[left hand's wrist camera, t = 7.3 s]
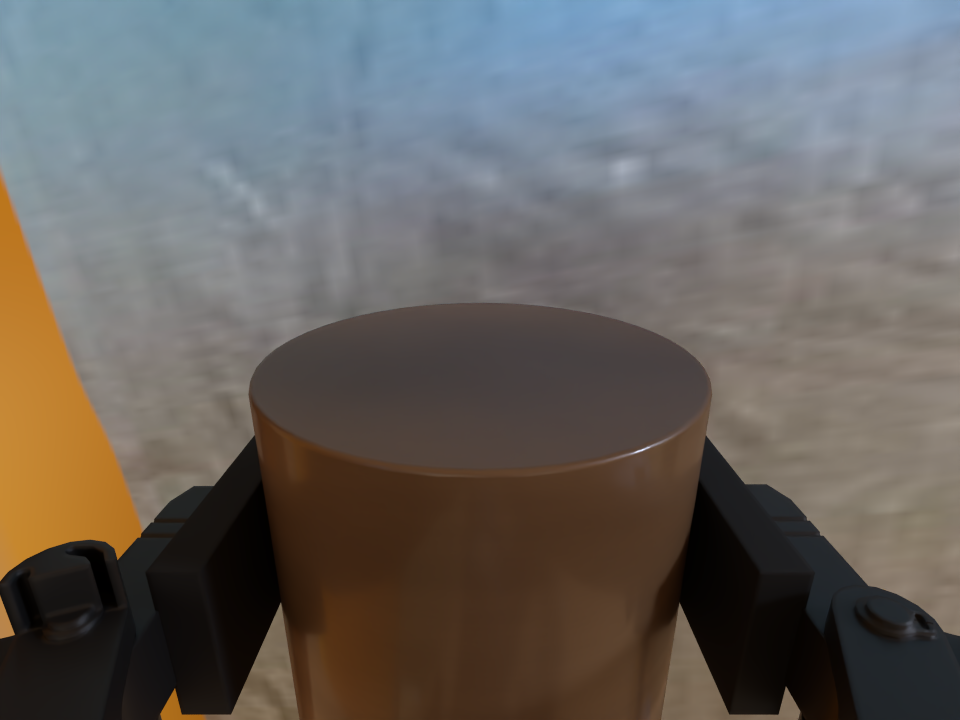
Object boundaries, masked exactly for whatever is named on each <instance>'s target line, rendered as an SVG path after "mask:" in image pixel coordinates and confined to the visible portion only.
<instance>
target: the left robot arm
mask: <svg viewBox="0 0 960 720" xmlns="http://www.w3.org/2000/svg"><path fill="white" fill-rule="evenodd" d="M0 596H1V599H2V601H3V604H4V607H5V609H6V612H7V615H8V617H9V620H10V623H11V625H12V628H13V630H14V633H15V635H14V636H10V637H6V638H2V639H0V720H162V719H161V715H160V713H161V711H162V710H163V708H164V706H165V704H166V703H167V701H168V699H169V697H170V696H171V694H172V692H173V690H174V689H176V693H177V697H178V701H179V705H180V709H181V713H182V714H231V713H232V711H233V709H234V706H235V704H236V702H237V700H238V697H239V695H240V693H241V691H242V688H243V686H244V684H245V682H246V679H247V677H248V675H249V673H250V670H251V668H252V666H253V664H254V661H255V659H256V657H257V655H258V652H259V650H260V648H261V646H262V643H263V641H264V639H265V637H266V634H267V632H268V630H269V628H270V625H271V623H272V621H273V619H274V616H275V614H276V612H277V610H278V607H279V605H280V603H281V598H280V592H279V585H278V579H277V572H276V566H275V560H274V553H273V547H272V541H271V534H270V528H269V521H268V515H267V509H266V502H265V496H264V490H263V483H262V477H261V470H260V464H259V458H258V451H257V445H256V439H255V436H254V437H253V438H252V439H251V441H250V442H249V443H248V444H247V446H246V447H245V448H244V449H243V451H242V452H241V453H240V454H239V456H238V457H237V458H236V459H235V461H234V462H233V463H232V464H231V466H230V467H229V468H228V469H227V471H226V472H225V473H224V474H223V476H222V477H221V478H220V479H219V481H218V482H217V483H216V484H215V486H194V487H192V488H190V489H189V490H187V491H186V492H184V493H183V494H181V495H179V496H178V497H176V498H175V499H173V500H171V501H170V502H169V503H168V504H167V505H166V507H165V508H164V509H163V510H162V511H161V512H160V513H159V514H158V516H157V517H156V518H155V519H154V523H150V525H149V526H148V527H147V528H146V529H145V530H144V531H143V532H142V534H141V538H137V539H136V540H135V541H134V543H133V544H132V545H131V546H130V547H129V548H128V549H127V550H126V551H125V553H124V554H123V555H122V556H121V557H120V558H119V559H118V560H117V557H116V553H115V549H114V548H113V547H111V546H110V545H109V544H107V543H106V542H102V541H95V540H83V541H75V542H69V543H66V544H62V545H59V546H55V547H52V548H49V549H46V550H44V551H42V552H40V553H38V554H36V555H34V556H32V557H30V558H27V559H26V560H24V561H23V562H21V563H20V564H19V565H17V566H16V567H14V568H13V569H12V570H10V571H9V572H8V573H7V574H6V575H5V576H4V577H3V579H2V580H1V581H0ZM679 602H680V604H681V606H682V609H683V611H684V613H685V615H686V618H687V620H688V622H689V624H690V627H691V629H692V631H693V633H694V636H695V638H696V640H697V643H698V645H699V647H700V649H701V652H702V654H703V656H704V658H705V661H706V663H707V665H708V667H709V670H710V672H711V674H712V676H713V679H714V681H715V683H716V685H717V688H718V690H719V692H720V694H721V697H722V699H723V701H724V703H725V706H726V708H727V710H728V712H729V714H771V715H778V714H779V711H780V707H781V703H782V699H783V695H784V691H785V687H787V688H788V690H789V692H790V694H791V695H792V697H793V699H794V701H795V702H796V704H797V706H798V708H799V709H800V711H801V712H800V715H799V719H798V720H960V636H956V635H952V634H949V633H945V632H943V630H942V629H941V628H940V626H939V625H938V623H937V622H936V621H935V619H933V618H932V617H931V616H930V615H929V614H927V613H926V612H925V611H924V610H922V609H921V608H920V607H919V606H918V605H916V604H914V603H912V602H910V601H908V600H906V599H905V598H903V597H901V596H899V595H897V594H894V593H892V592H889V591H886V590H883V589H880V588H877V587H870V586H868V585H867V584H866V583H865V582H864V581H863V580H862V578H861V577H860V576H859V575H858V574H857V573H856V572H855V571H854V570H853V568H852V567H851V566H850V565H849V564H848V563H847V562H846V561H845V560H844V558H843V557H842V556H841V555H840V554H839V553H838V552H837V551H836V549H835V548H834V547H833V546H832V545H831V544H830V543H829V542H828V541H827V539H826V538H825V537H824V536H820V532H819V531H818V529H817V528H816V527H815V526H814V525H813V524H812V523H811V522H810V521H807V517H806V516H805V515H804V514H803V513H802V512H801V510H800V509H799V508H798V507H797V506H796V505H795V504H794V503H793V502H792V500H791V499H789V498H787V497H786V496H784V495H783V494H781V493H780V492H778V491H776V490H775V489H773V488H772V487H770V486H768V485H767V484H744V483H743V481H742V480H741V479H740V478H739V476H738V475H737V474H736V473H735V471H734V470H733V469H732V468H731V466H730V465H729V464H728V463H727V461H726V460H725V459H724V458H723V456H722V455H721V454H720V453H719V451H718V450H717V449H716V448H715V446H714V445H713V444H712V443H711V441H710V440H709V439H708V438H707V436H706V437H705V443H704V449H703V456H702V462H701V468H700V475H699V481H698V487H697V494H696V500H695V506H694V513H693V519H692V525H691V532H690V538H689V544H688V551H687V557H686V563H685V570H684V576H683V582H682V589H681V595H680V601H679Z"/></svg>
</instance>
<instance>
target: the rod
mask: <svg viewBox="0 0 960 720" xmlns="http://www.w3.org/2000/svg"><path fill="white" fill-rule="evenodd" d="M711 399H712V389H711V382H710V379H709V377H708V375H707V373H706V371H705V369H704V367H703V366H702V365H701V364H700V363H699V361H698V360H697V359H696V358H695V357H694V356H693V355H691V354H690V353H689V352H688V351H686V350H685V349H684V348H682V347H681V346H679V345H677V344H676V343H674V342H672V341H671V340H669V339H667V338H664V337H662V336H660V335H658V334H656V333H654V332H651V331H649V330H646V329H643V328H641V327H638V326H635V325H632V324H629V323H626V322H622V321H619V320H616V319H612V318H608V317H604V316H600V315H595V314H590V313H585V312H580V311H574V310H567V309H561V308H553V307H544V306H534V305H522V304H503V303H457V304H438V305H426V306H416V307H407V308H399V309H393V310H387V311H380V312H375V313H370V314H365V315H361V316H357V317H353V318H349V319H345V320H341V321H338V322H335V323H331V324H328V325H325V326H322V327H320V328H317V329H314V330H312V331H309V332H307V333H304V334H302V335H300V336H298V337H296V338H294V339H292V340H290V341H288V342H286V343H285V344H283V345H282V346H280V347H278V348H277V349H275V350H274V351H273V352H272V353H270V354H269V355H268V356H267V357H265V359H264V360H263V361H262V362H261V363H260V364H259V366H258V367H257V368H256V370H255V372H254V374H253V376H252V378H251V381H250V387H249V400H250V407H251V413H252V419H253V426H254V432H255V439H256V445H257V451H258V458H259V464H260V470H261V477H262V483H263V490H264V496H265V502H266V509H267V515H268V521H269V528H270V534H271V541H272V547H273V553H274V560H275V566H276V572H277V579H278V585H279V592H280V598H281V604H282V611H283V617H284V624H285V630H286V636H287V643H288V649H289V655H290V662H291V668H292V675H293V681H294V687H295V694H296V700H297V706H298V713H299V719H300V720H661V715H662V709H663V703H664V696H665V690H666V684H667V677H668V671H669V665H670V658H671V652H672V646H673V639H674V633H675V627H676V620H677V614H678V608H679V601H680V595H681V589H682V582H683V576H684V570H685V563H686V557H687V551H688V544H689V538H690V532H691V525H692V519H693V513H694V506H695V500H696V494H697V487H698V481H699V475H700V468H701V462H702V456H703V449H704V443H705V437H706V430H707V424H708V418H709V411H710V405H711Z"/></svg>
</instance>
